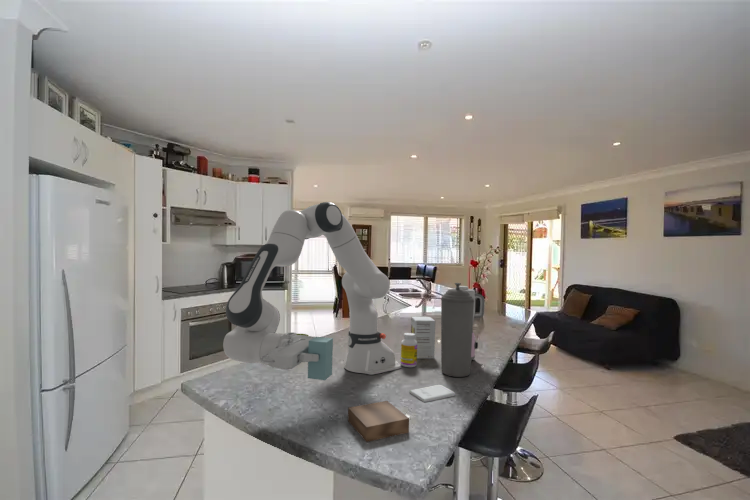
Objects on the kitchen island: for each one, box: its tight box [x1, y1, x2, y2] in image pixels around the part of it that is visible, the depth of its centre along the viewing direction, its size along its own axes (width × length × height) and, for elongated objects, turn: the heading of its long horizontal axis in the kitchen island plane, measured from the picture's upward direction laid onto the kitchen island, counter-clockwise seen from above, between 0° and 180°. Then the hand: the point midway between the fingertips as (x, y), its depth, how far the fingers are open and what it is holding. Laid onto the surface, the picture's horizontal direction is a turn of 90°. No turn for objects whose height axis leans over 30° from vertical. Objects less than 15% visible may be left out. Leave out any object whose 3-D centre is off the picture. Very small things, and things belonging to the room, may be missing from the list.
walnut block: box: [347, 400, 410, 443], centre depth 96 cm, size 12×12×4 cm
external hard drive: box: [409, 384, 456, 403], centre depth 119 cm, size 2×8×12 cm
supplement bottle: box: [400, 332, 418, 368], centre depth 149 cm, size 7×7×13 cm
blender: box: [447, 285, 485, 361], centre depth 159 cm, size 16×12×32 cm
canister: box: [440, 282, 474, 378], centre depth 141 cm, size 13×13×35 cm
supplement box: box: [410, 316, 436, 359], centre depth 164 cm, size 10×9×17 cm
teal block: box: [307, 336, 334, 381], centre depth 99 cm, size 5×5×10 cm
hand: (323, 354), depth 99 cm, fingers closed on teal block, 5 cm apart
